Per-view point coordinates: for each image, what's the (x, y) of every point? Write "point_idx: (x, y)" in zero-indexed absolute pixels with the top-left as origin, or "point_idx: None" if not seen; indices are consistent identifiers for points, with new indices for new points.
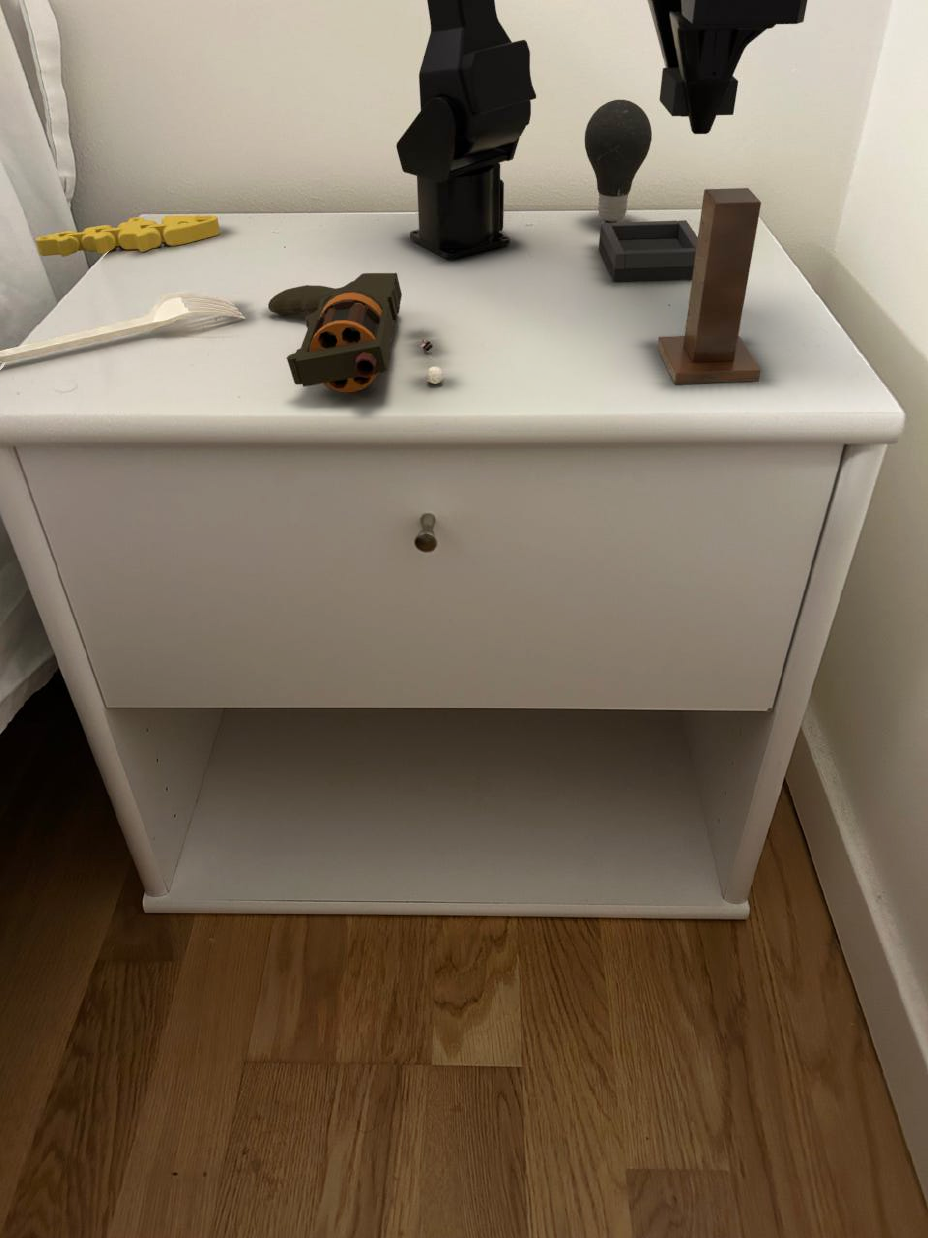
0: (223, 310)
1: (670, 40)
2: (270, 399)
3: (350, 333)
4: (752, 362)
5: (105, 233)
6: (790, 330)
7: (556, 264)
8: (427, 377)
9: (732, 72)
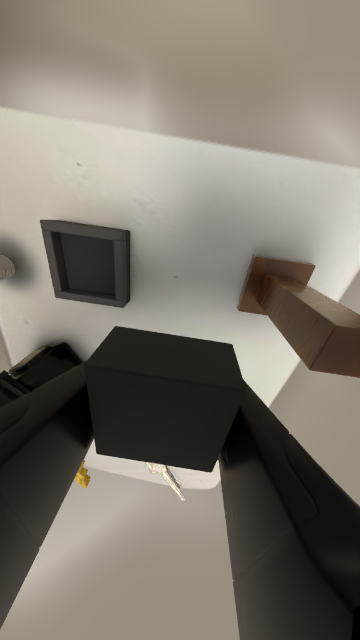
0: None
1: (54, 507)
2: None
3: None
4: (303, 266)
5: (78, 475)
6: (245, 196)
7: (97, 324)
8: None
9: (311, 458)
